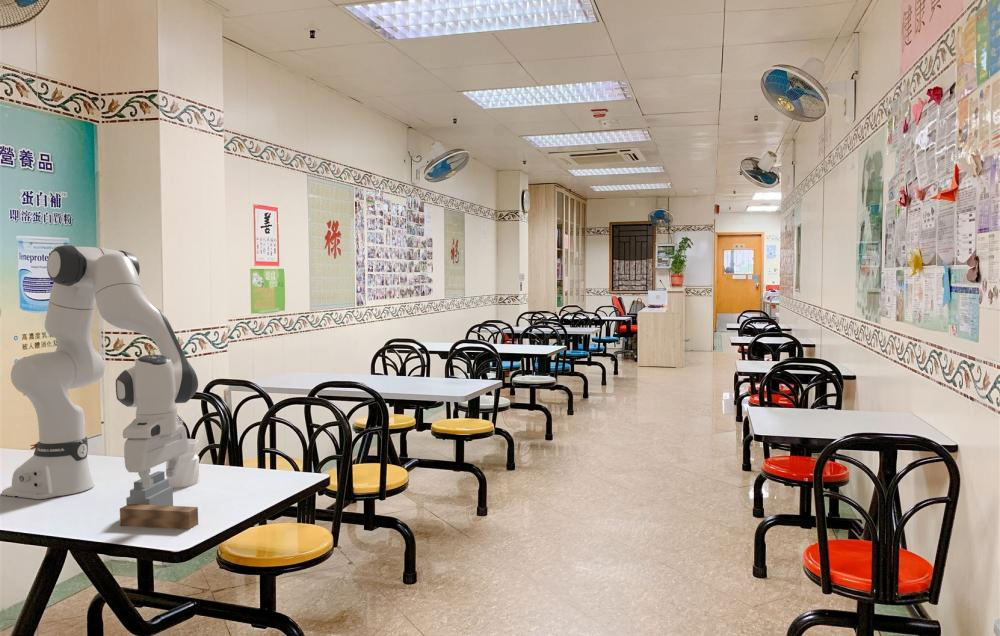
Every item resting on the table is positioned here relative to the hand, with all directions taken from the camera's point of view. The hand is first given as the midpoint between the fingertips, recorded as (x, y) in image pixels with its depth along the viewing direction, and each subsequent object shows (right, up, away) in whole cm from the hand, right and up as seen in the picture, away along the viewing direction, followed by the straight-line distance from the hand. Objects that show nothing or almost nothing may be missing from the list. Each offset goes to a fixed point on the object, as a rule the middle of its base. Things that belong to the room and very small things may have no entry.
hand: (159, 481), depth 170 cm
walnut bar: (0, -11, +1) cm, 11 cm away
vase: (-10, -9, +36) cm, 38 cm away
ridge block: (-7, -10, +10) cm, 16 cm away
